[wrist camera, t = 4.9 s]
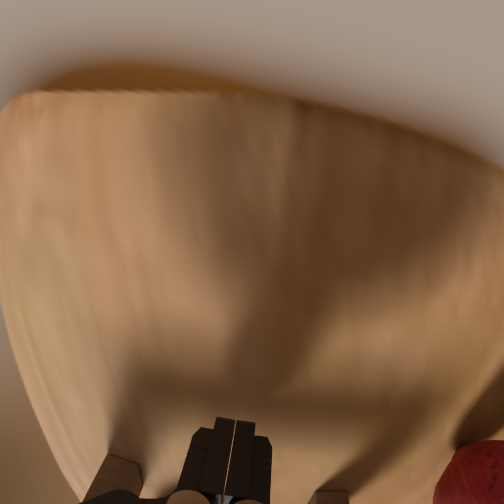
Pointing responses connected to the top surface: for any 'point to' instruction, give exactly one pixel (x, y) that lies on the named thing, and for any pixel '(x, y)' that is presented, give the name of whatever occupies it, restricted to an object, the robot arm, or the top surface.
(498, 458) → the onion
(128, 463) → the bridge
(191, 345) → the top surface
